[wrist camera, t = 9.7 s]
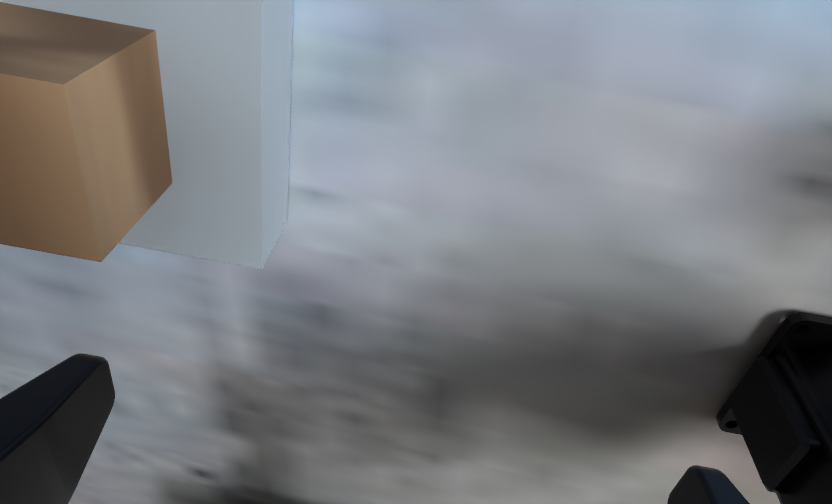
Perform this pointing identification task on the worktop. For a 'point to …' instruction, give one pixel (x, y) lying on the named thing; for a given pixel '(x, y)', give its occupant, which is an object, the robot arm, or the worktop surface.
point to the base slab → (214, 121)
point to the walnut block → (77, 131)
